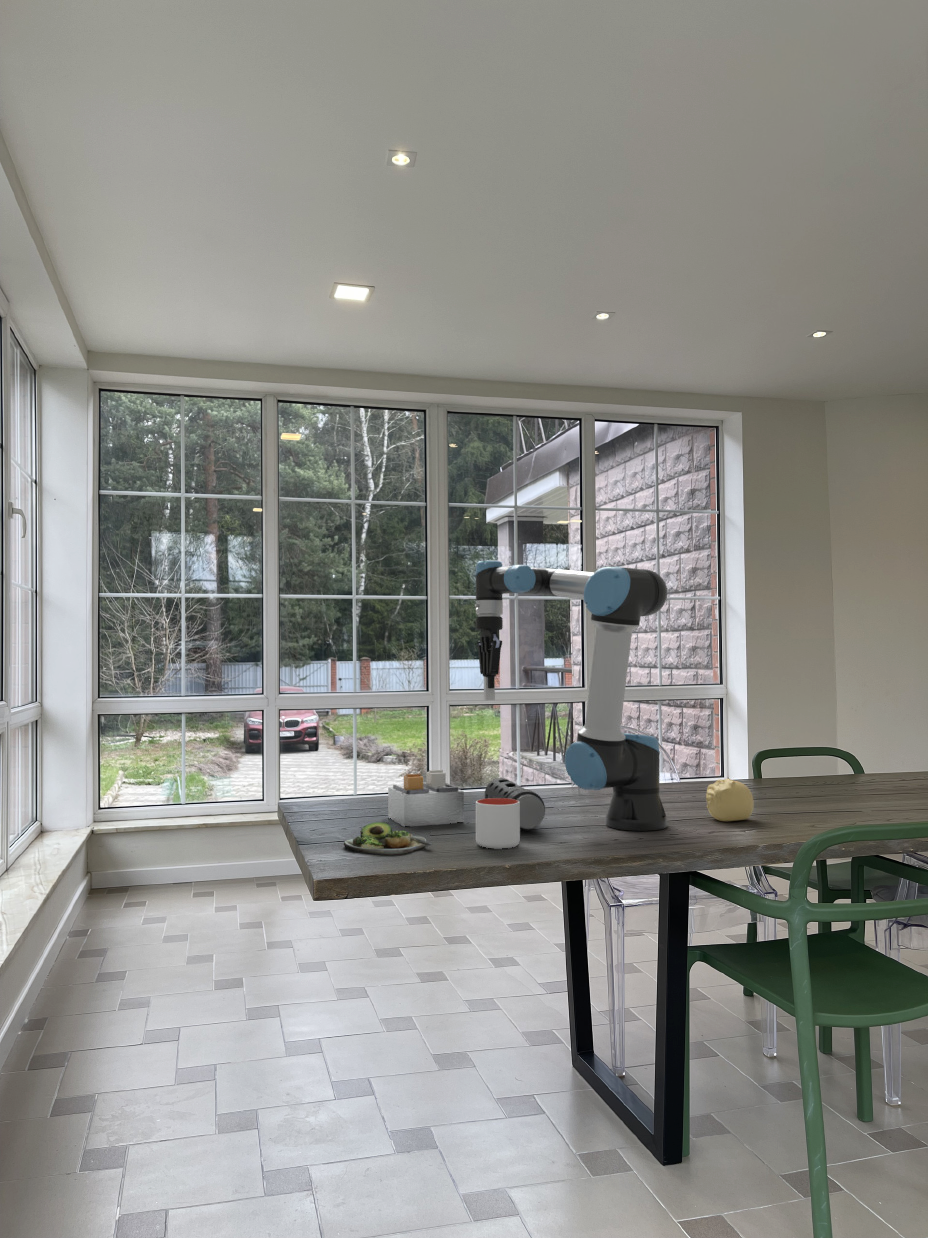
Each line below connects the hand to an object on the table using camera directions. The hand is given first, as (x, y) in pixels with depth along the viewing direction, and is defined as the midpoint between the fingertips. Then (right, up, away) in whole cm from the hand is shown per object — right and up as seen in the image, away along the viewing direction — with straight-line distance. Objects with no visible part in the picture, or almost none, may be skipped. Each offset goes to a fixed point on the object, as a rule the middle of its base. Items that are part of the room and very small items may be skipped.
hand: (489, 700), depth 259 cm
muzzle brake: (+6, -30, -24) cm, 39 cm away
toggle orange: (-20, -21, -21) cm, 36 cm away
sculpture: (+62, -30, -18) cm, 71 cm away
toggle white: (-15, -22, -13) cm, 29 cm away
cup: (+1, -29, -49) cm, 57 cm away
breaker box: (-17, -30, -17) cm, 39 cm away
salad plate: (-25, -29, -50) cm, 63 cm away
